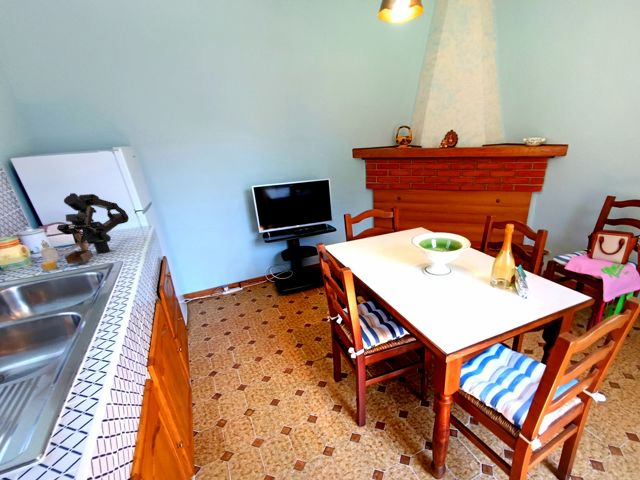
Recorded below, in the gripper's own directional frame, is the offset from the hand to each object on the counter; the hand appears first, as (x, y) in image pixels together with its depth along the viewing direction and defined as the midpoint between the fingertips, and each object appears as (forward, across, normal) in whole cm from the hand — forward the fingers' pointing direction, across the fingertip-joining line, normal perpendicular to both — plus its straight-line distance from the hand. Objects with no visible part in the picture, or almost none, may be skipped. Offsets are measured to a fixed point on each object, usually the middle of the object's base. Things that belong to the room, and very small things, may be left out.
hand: (79, 243), depth 146 cm
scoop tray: (+7, 0, +4) cm, 8 cm away
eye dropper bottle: (+3, -19, +12) cm, 23 cm away
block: (+9, -12, 0) cm, 15 cm away
